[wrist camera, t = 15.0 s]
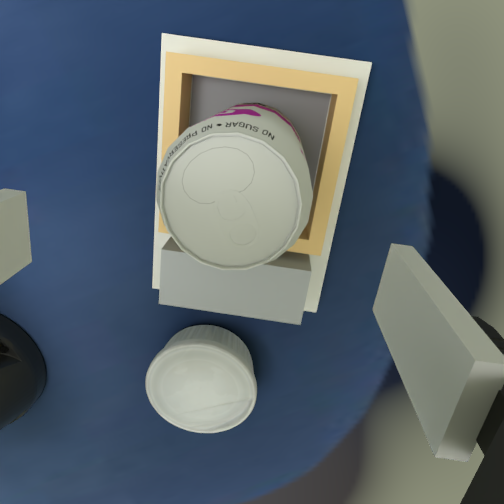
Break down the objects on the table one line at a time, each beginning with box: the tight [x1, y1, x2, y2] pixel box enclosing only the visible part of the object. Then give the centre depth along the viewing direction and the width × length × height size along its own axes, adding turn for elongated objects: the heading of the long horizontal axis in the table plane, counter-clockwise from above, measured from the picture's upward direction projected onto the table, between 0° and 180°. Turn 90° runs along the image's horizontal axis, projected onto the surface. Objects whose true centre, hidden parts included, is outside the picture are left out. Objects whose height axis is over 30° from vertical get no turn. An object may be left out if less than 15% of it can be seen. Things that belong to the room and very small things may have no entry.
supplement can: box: [156, 103, 313, 270], centre depth 27 cm, size 8×8×15 cm
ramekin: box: [145, 325, 257, 433], centre depth 42 cm, size 11×11×5 cm
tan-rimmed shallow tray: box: [152, 33, 372, 325], centre depth 34 cm, size 22×16×7 cm
